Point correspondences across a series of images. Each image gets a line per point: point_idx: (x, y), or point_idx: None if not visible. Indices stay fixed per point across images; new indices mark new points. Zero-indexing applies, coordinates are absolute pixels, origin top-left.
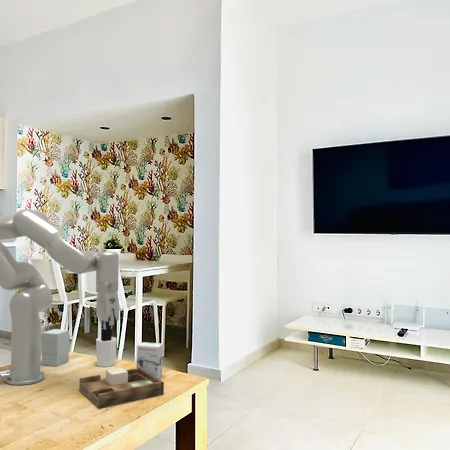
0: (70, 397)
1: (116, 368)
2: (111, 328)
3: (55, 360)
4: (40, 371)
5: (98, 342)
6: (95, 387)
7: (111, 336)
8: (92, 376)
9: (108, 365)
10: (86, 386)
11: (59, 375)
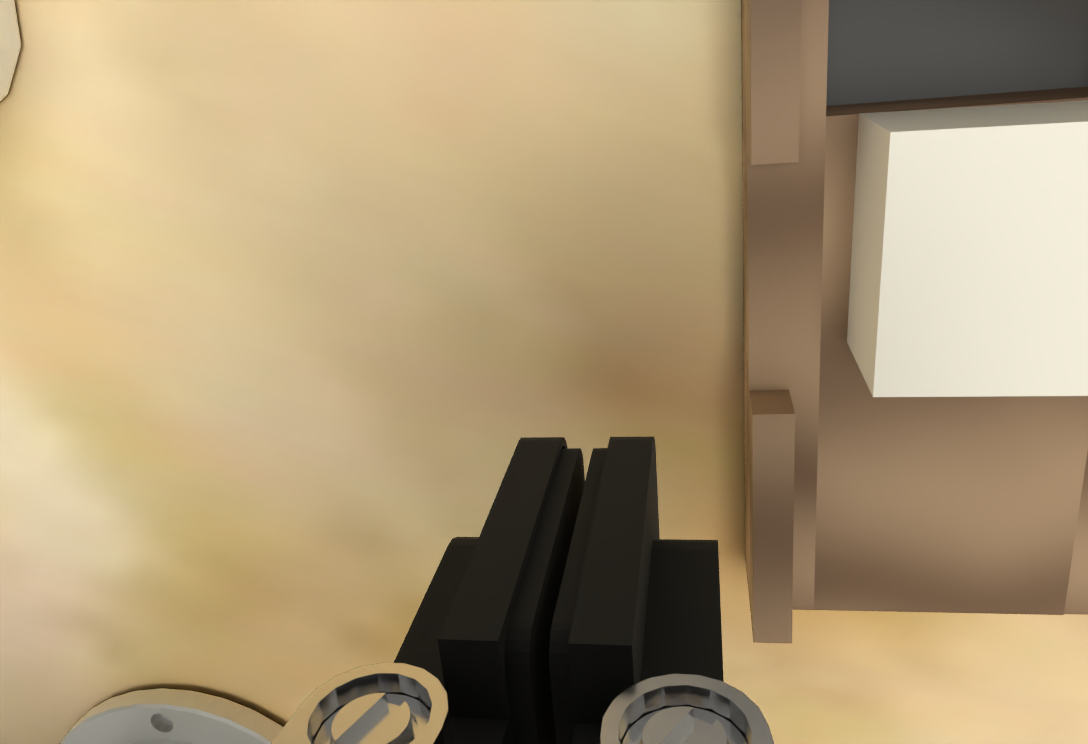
0: (885, 671)
1: (891, 227)
2: (763, 734)
3: None
4: (102, 718)
5: None
6: (1020, 521)
7: (648, 484)
8: (767, 505)
9: (7, 7)
10: (919, 587)
11: (191, 574)
